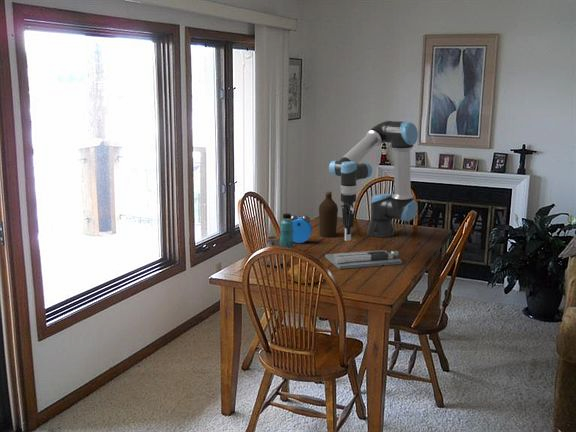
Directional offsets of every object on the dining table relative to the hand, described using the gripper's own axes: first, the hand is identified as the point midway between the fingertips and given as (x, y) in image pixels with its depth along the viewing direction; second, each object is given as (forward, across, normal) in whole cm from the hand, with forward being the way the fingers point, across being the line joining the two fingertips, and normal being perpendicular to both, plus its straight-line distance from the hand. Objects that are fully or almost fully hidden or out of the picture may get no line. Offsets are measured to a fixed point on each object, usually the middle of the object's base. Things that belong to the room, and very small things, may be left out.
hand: (347, 240), depth 304 cm
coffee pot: (+8, +8, -41) cm, 42 cm away
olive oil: (+9, -42, +4) cm, 43 cm away
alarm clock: (+9, -32, -16) cm, 36 cm away
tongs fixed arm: (+7, +14, +5) cm, 16 cm away
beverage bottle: (+8, -15, -28) cm, 32 cm away
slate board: (+8, +9, +4) cm, 13 cm away
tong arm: (+6, +11, +3) cm, 13 cm away
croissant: (+8, +30, -31) cm, 44 cm away
